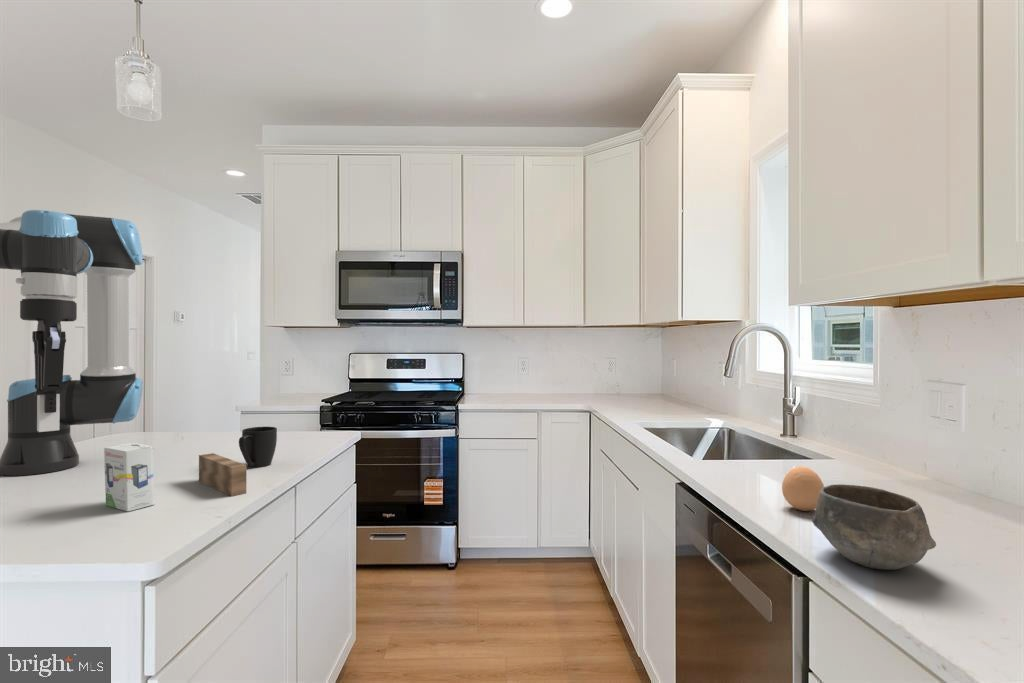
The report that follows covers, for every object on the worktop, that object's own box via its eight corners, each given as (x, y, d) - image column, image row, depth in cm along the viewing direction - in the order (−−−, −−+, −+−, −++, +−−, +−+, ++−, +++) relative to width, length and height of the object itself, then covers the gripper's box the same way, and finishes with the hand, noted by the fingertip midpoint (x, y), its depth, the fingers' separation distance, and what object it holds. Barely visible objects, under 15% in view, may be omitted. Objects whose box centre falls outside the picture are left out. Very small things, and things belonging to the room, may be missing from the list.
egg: (778, 511, 99) (778, 467, 99) (785, 501, 105) (785, 460, 105) (822, 519, 95) (822, 473, 95) (826, 509, 101) (827, 466, 101)
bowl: (856, 584, 69) (856, 510, 69) (793, 540, 85) (793, 480, 85) (958, 584, 69) (958, 511, 69) (876, 540, 85) (877, 480, 85)
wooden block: (198, 481, 118) (198, 455, 118) (212, 478, 120) (213, 453, 120) (231, 496, 107) (231, 467, 107) (246, 493, 109) (246, 465, 109)
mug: (224, 472, 126) (224, 433, 126) (254, 461, 138) (255, 426, 138) (255, 473, 125) (255, 434, 125) (283, 462, 137) (283, 426, 137)
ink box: (155, 505, 101) (155, 445, 101) (125, 513, 96) (126, 450, 96) (132, 498, 105) (132, 441, 105) (102, 506, 100) (102, 446, 100)
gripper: (14, 299, 93) (13, 428, 93) (26, 295, 84) (25, 438, 84) (68, 302, 98) (67, 423, 98) (85, 298, 90) (84, 432, 90)
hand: (48, 430), depth 91 cm, fingers closed
